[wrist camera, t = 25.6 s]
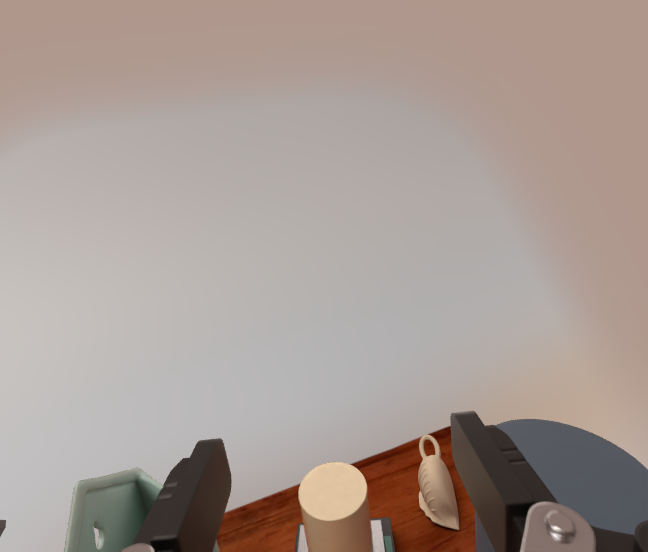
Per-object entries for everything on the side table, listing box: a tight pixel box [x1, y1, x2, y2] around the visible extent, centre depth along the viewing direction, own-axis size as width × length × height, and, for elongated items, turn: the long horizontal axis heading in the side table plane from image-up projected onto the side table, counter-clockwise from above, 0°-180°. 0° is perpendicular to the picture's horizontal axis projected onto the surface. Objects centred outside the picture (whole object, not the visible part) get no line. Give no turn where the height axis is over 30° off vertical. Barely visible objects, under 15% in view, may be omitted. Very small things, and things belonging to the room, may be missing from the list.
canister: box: [299, 462, 374, 552], centre depth 31 cm, size 6×6×9 cm
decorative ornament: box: [418, 435, 459, 530], centre depth 41 cm, size 4×8×5 cm, turn 166°
